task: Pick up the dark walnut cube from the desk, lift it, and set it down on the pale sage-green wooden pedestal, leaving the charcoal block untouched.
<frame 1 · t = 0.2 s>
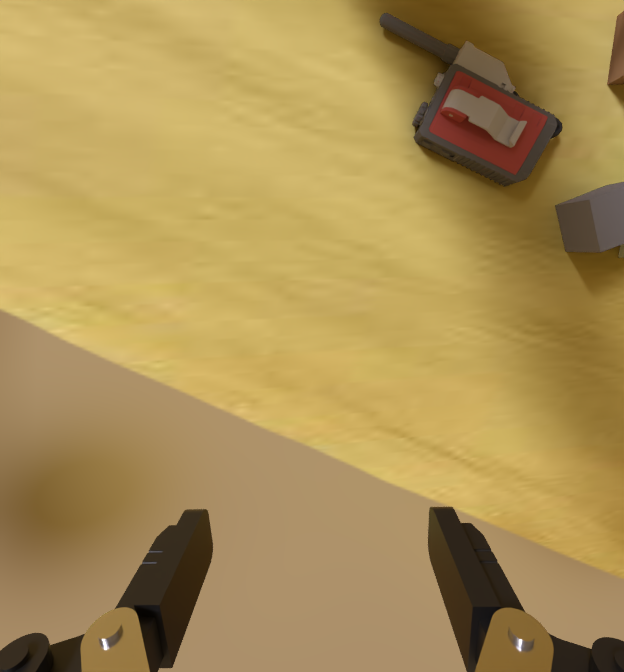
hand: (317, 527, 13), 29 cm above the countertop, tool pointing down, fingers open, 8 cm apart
walkie-talkie: (452, 110, 35), on the countertop
charcoal block: (584, 219, 37), on the countertop
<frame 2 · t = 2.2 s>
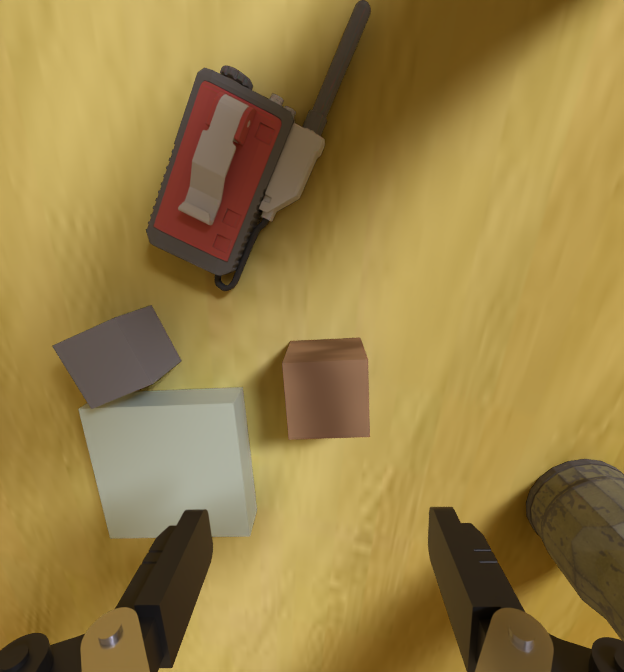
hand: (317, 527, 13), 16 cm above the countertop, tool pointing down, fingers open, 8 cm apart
thermos: (575, 502, 31), on the countertop
walkie-talkie: (256, 149, 25), on the countertop
pedestal: (182, 453, 31), on the countertop
walnut cube: (326, 371, 29), on the countertop
charcoal block: (140, 344, 29), on the countertop
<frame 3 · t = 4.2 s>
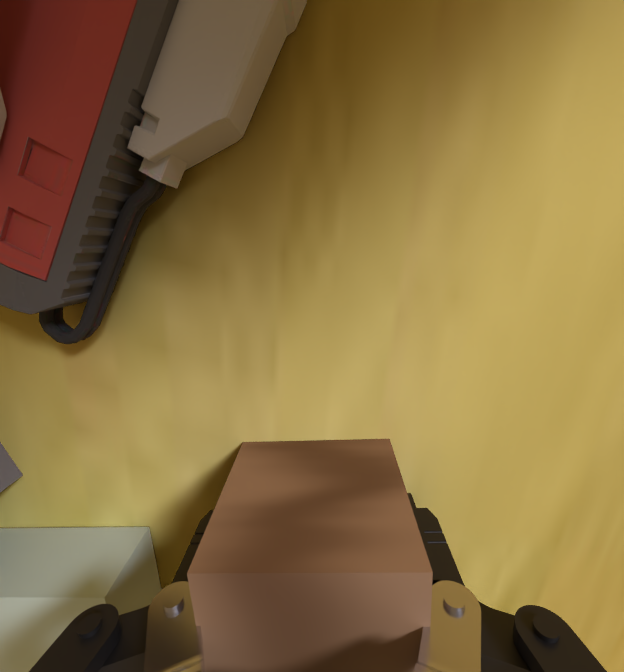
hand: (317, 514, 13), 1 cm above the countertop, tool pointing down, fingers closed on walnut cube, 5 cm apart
walkie-talkie: (146, 13, 10), on the countertop
pedestal: (43, 636, 16), on the countertop
walnut cube: (318, 503, 14), on the countertop, touching gripper
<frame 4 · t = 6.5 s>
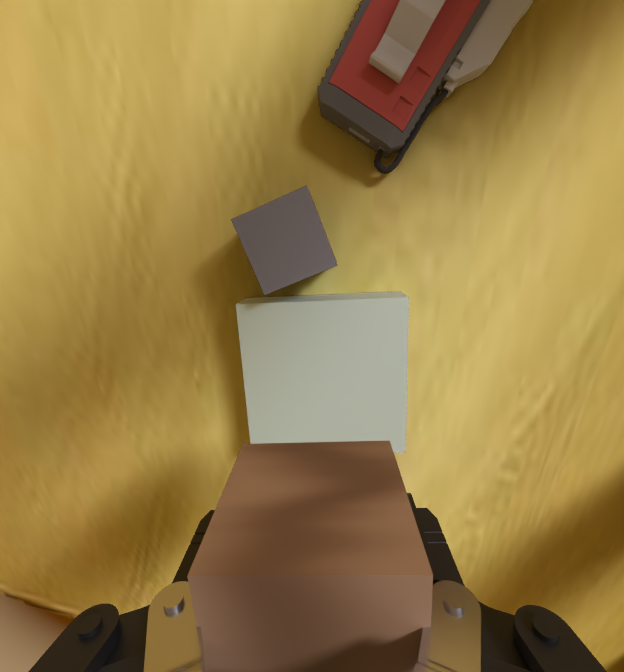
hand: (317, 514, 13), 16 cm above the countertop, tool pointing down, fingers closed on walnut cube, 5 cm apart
walkie-talkie: (439, 16, 23), on the countertop
pedestal: (325, 367, 29), on the countertop
walnut cube: (318, 504, 14), point 15 cm above the countertop, touching gripper
charcoal block: (293, 242, 26), on the countertop
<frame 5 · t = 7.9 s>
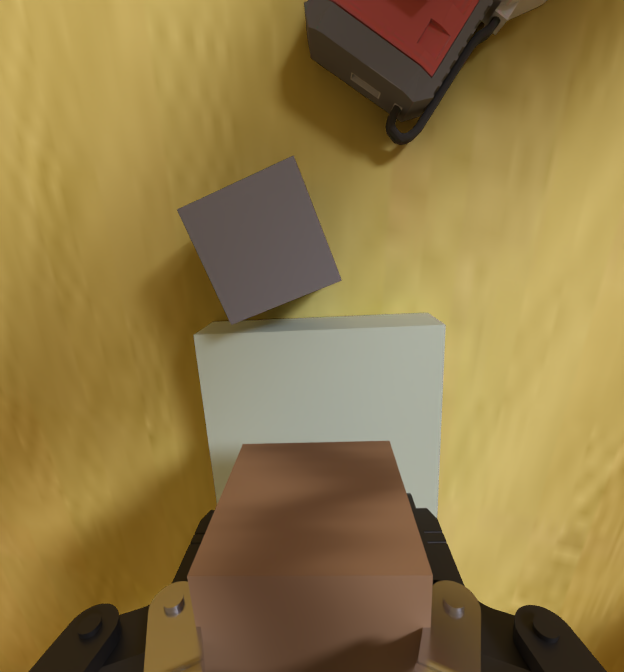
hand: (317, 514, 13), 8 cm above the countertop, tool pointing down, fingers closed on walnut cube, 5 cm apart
pedestal: (323, 415, 21), on the countertop
walnut cube: (318, 504, 14), point 8 cm above the countertop, touching gripper
charcoal block: (277, 245, 19), on the countertop
when the fingers open (5 cm above the countertop, at t = 9.0 s): walnut cube drops 1 cm, resting on pedestal.
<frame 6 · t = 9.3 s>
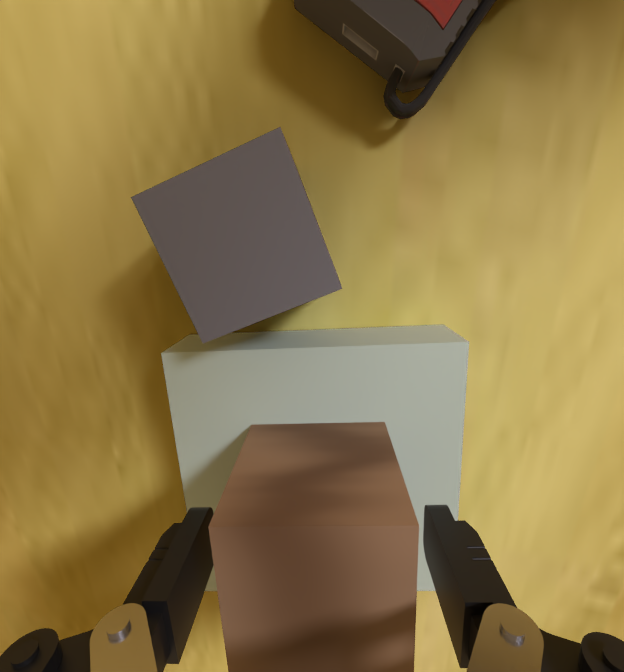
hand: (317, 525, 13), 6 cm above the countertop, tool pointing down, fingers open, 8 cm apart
pedestal: (319, 443, 18), on the countertop
walnut cube: (319, 481, 15), point 3 cm above the countertop, touching pedestal
charcoal block: (265, 244, 16), on the countertop
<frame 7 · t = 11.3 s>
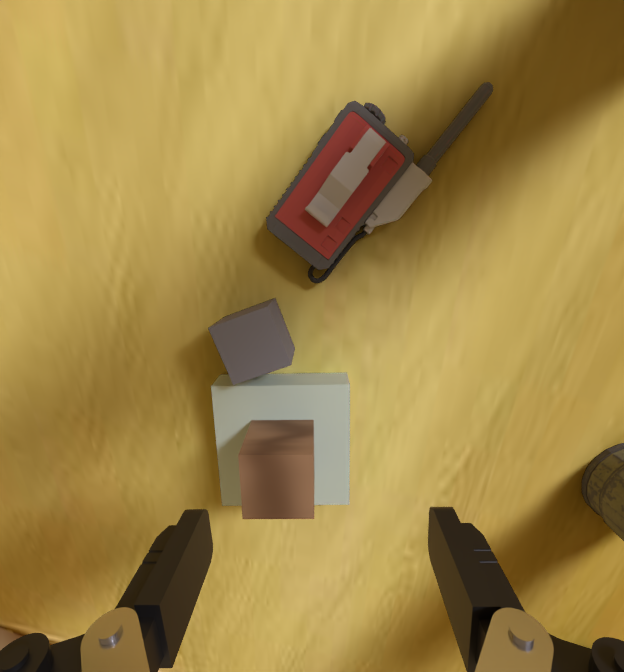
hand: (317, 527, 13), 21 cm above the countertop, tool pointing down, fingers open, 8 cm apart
thermos: (623, 479, 36), on the countertop
walkie-talkie: (368, 172, 30), on the countertop
pedestal: (285, 431, 35), on the countertop
walnut cube: (283, 447, 32), point 3 cm above the countertop, touching pedestal
charcoal block: (260, 332, 32), on the countertop
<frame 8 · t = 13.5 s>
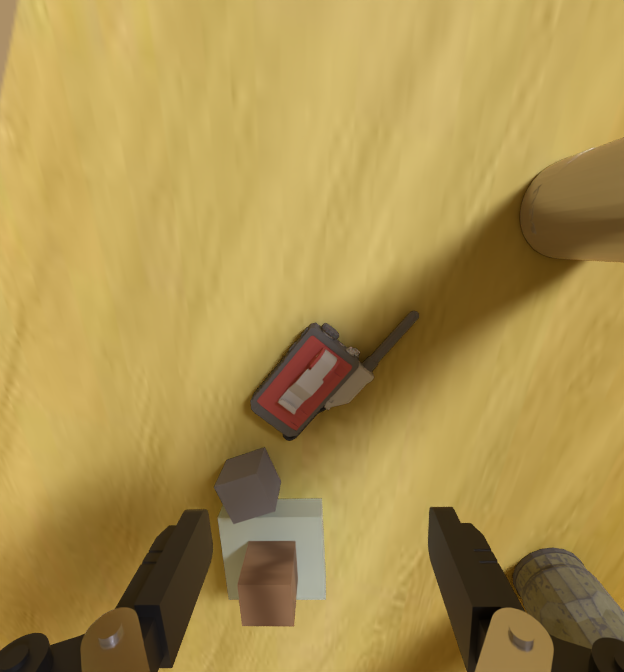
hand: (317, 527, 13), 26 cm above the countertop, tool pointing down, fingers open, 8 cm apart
thermos: (546, 574, 45), on the countertop
walkie-talkie: (329, 359, 39), on the countertop
pedestal: (276, 539, 45), on the countertop
walnut cube: (273, 559, 42), point 3 cm above the countertop, touching pedestal
charcoal block: (254, 470, 42), on the countertop
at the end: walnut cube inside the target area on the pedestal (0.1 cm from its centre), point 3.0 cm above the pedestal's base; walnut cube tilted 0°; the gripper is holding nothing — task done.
